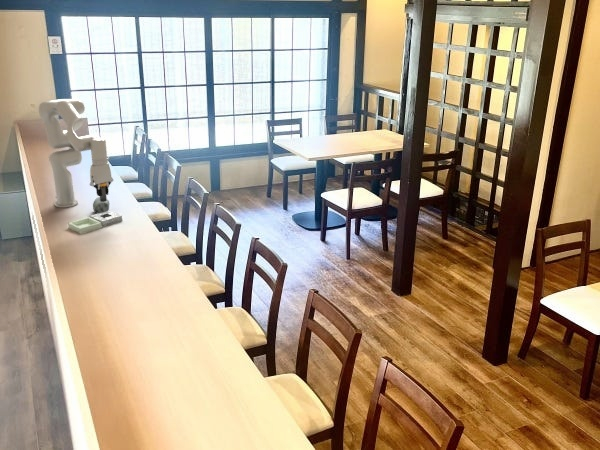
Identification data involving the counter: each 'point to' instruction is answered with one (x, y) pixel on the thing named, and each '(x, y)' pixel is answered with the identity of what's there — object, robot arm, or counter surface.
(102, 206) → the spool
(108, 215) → the grey slotted block
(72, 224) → the tray
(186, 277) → the counter surface
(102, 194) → the pin
